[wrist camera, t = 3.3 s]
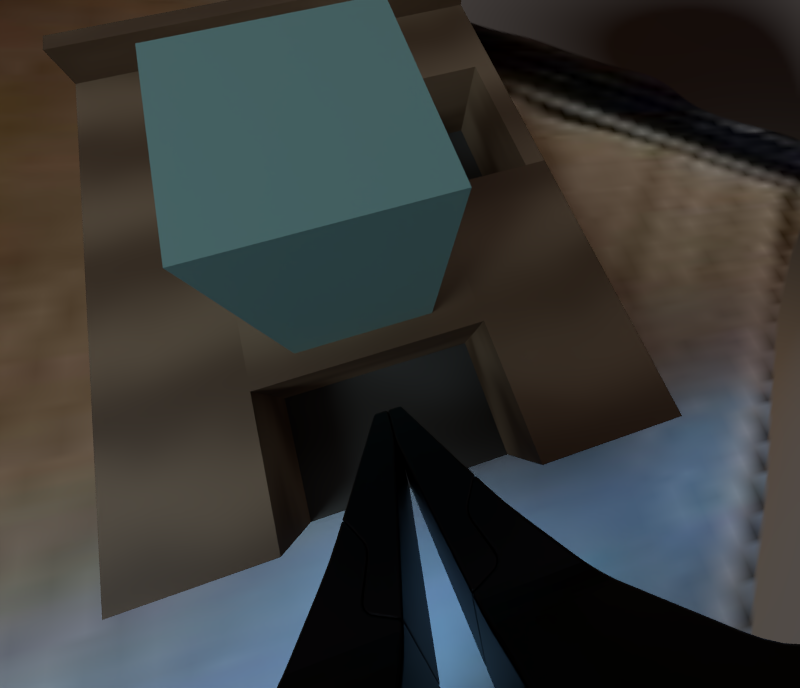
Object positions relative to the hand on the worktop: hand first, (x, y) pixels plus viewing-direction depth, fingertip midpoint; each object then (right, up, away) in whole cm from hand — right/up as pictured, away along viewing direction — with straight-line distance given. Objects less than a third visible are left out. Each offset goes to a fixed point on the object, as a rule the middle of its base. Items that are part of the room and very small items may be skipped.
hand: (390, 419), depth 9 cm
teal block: (-2, +6, +4) cm, 7 cm away
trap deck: (-3, +7, +9) cm, 12 cm away
